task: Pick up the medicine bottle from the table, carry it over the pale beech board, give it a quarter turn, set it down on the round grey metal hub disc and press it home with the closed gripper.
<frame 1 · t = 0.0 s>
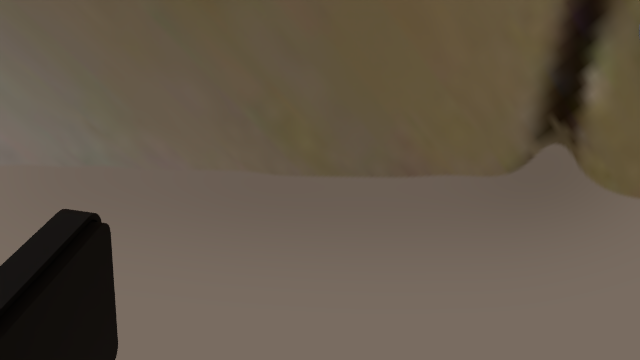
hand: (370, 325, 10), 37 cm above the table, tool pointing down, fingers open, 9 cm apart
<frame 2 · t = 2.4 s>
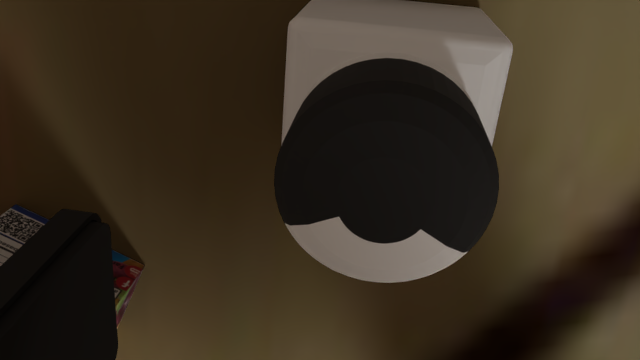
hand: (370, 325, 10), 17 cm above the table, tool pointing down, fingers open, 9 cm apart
juice carton: (55, 309, 34), on the table
medicine bottle: (387, 80, 26), on the table
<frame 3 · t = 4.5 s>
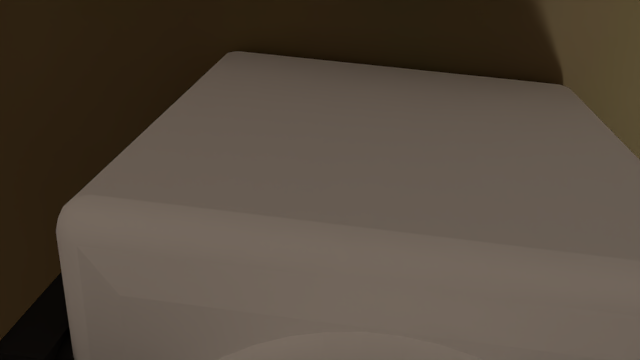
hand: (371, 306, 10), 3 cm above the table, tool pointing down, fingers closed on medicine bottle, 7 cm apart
medicine bottle: (375, 211, 14), on the table, touching gripper
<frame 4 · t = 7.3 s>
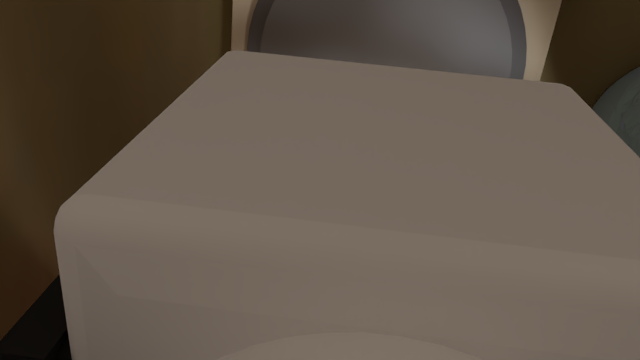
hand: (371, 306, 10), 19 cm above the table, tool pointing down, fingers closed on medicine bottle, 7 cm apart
board: (383, 57, 27), on the table
medicine bottle: (375, 211, 14), point 15 cm above the table, touching gripper
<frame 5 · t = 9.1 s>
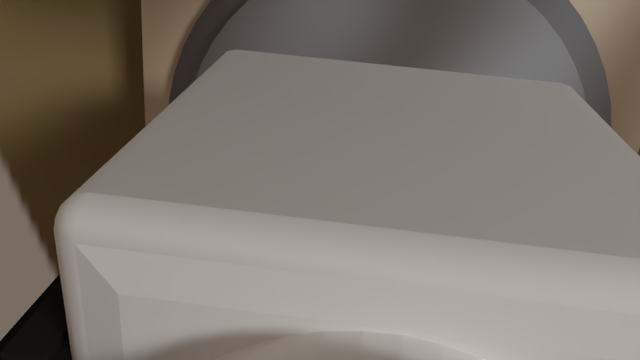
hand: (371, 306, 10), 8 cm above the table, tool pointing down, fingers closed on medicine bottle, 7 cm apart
board: (380, 135, 18), on the table
medicine bottle: (375, 210, 14), point 5 cm above the table, touching gripper
when the fingers open (6 cm above the table, at t = 10.4 s): medicine bottle stays where it is, resting on board.
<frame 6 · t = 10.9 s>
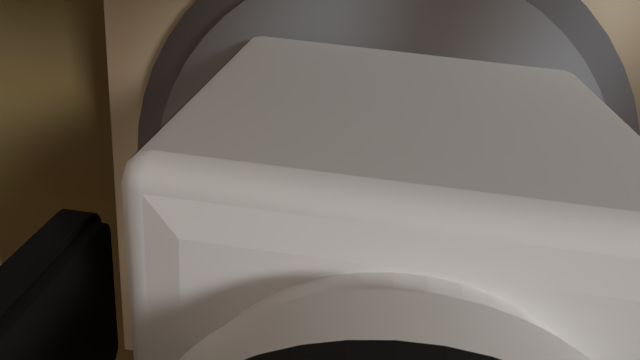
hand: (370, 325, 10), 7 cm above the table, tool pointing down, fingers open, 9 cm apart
board: (377, 163, 16), on the table
medicine bottle: (387, 190, 14), point 2 cm above the table, touching board
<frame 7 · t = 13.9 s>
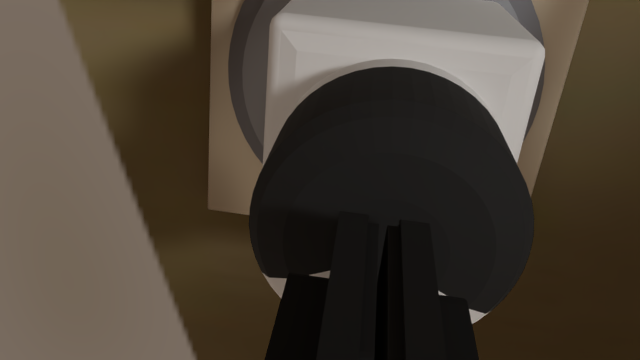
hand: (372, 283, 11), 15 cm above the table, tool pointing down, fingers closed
board: (382, 73, 24), on the table
medicine bottle: (388, 84, 23), point 2 cm above the table, touching board
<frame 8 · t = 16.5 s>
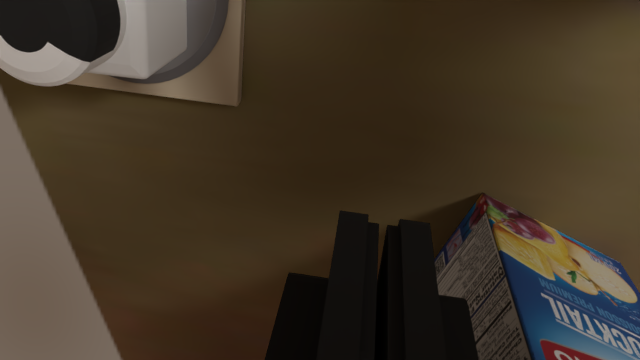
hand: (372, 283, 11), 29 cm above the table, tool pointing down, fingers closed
juice carton: (521, 263, 44), on the table
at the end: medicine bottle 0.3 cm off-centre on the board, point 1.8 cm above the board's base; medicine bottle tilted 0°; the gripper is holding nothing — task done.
